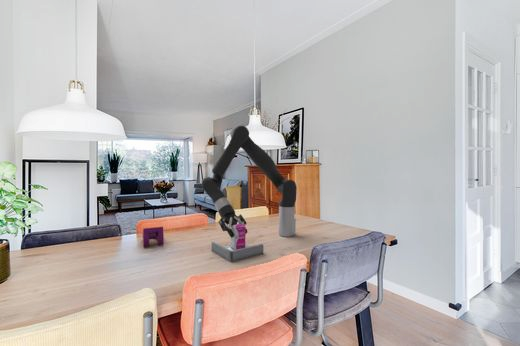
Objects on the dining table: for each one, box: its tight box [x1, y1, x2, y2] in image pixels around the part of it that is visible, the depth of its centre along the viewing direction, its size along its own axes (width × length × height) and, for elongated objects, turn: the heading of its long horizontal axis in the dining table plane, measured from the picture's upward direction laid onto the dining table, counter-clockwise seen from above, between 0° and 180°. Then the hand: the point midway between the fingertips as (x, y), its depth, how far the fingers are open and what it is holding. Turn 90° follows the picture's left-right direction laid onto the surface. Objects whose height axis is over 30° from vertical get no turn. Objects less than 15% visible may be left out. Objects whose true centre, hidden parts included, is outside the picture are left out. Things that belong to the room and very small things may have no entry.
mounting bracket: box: [142, 226, 165, 248], centre depth 141 cm, size 9×8×18 cm
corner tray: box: [210, 241, 264, 263], centre depth 126 cm, size 18×18×4 cm
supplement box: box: [230, 224, 247, 250], centre depth 128 cm, size 6×6×12 cm
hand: (239, 234), depth 127 cm, fingers open, 8 cm apart
